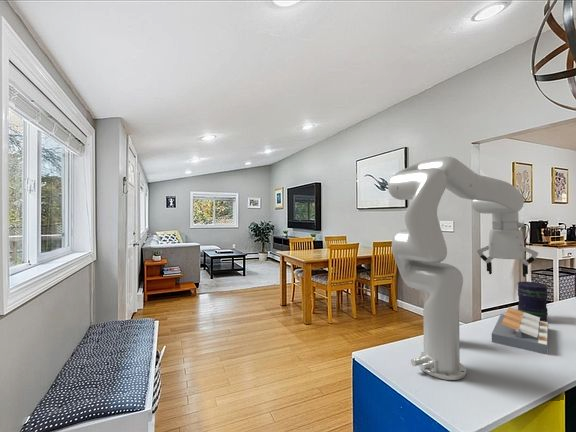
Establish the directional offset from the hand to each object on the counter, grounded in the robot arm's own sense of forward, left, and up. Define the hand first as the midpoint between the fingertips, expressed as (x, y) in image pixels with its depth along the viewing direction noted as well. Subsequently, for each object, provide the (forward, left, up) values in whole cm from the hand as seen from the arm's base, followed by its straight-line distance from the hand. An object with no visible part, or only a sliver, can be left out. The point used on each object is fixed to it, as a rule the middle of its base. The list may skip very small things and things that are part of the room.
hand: (506, 274), depth 105 cm
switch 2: (+10, +2, -19) cm, 22 cm away
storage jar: (+32, +12, -24) cm, 42 cm away
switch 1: (+17, +6, -19) cm, 26 cm away
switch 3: (+3, -2, -19) cm, 19 cm away
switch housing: (+10, +2, -24) cm, 26 cm away
